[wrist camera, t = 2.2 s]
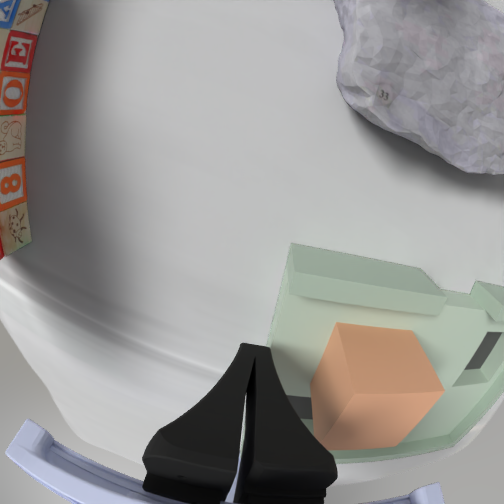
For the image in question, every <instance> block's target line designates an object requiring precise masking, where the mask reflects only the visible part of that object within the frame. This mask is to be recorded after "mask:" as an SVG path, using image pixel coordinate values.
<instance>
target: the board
mask: <svg viewBox="0 0 504 504" xmlns="http://www.w3.org/2000/svg"><path fill="white" fill-rule="evenodd" d="M336 322H340V323H348V324H356V325H364V326H373V327H382V328H392V329H403V330H412V331H413V333H414V335H415V336H416V338H417V340H418V341H419V343H420V345H421V347H422V348H423V350H424V352H425V354H426V356H427V357H428V359H429V361H430V363H431V365H432V366H433V368H434V370H435V372H436V374H437V376H438V378H439V380H440V382H441V384H442V386H443V388H444V390H445V392H444V393H443V394H442V395H441V397H440V398H439V399H438V401H437V402H436V403H435V404H434V405H433V407H432V408H431V409H430V410H429V411H428V413H427V414H426V415H425V416H424V417H423V418H422V419H421V421H420V422H419V423H418V424H417V425H416V426H415V427H414V428H413V429H412V430H411V431H410V433H409V434H408V435H407V436H406V437H405V438H404V439H403V440H402V441H401V442H400V443H399V444H398V445H397V446H395V447H386V448H375V449H361V450H328V451H329V452H330V453H331V454H332V455H333V456H334V459H335V463H336V464H344V463H361V462H373V461H382V460H390V459H397V458H403V457H409V456H415V455H420V454H425V453H429V452H434V451H438V450H442V449H446V448H450V447H453V446H454V445H455V444H456V443H457V442H458V441H459V440H461V439H462V438H463V437H464V436H465V435H466V434H467V433H468V432H469V431H470V430H471V429H472V428H473V427H474V426H475V424H476V423H477V422H478V421H479V420H480V419H481V418H482V417H483V416H484V415H485V414H486V412H487V411H488V410H489V409H490V408H491V407H492V406H493V404H494V403H495V402H496V401H497V399H498V398H499V397H500V396H501V395H502V393H503V392H504V287H502V286H497V285H493V284H489V283H484V282H480V281H476V282H475V284H474V286H473V289H472V291H471V293H470V294H465V293H459V292H453V291H448V290H442V289H439V287H438V286H437V285H436V284H435V283H434V282H433V281H432V280H431V279H430V278H429V277H428V276H427V275H426V274H425V273H424V272H423V271H422V270H421V269H420V268H415V267H410V266H405V265H400V264H395V263H391V262H386V261H381V260H376V259H371V258H366V257H361V256H356V255H351V254H346V253H340V252H335V251H330V250H325V249H320V248H315V247H309V246H304V245H299V244H293V243H291V246H290V250H289V255H288V259H287V264H286V268H285V272H284V277H283V281H282V285H281V289H280V293H279V297H278V302H277V306H276V310H275V314H274V318H273V322H272V326H271V330H270V334H269V338H268V341H267V345H266V347H269V348H270V349H271V353H272V358H273V362H274V365H275V368H276V371H277V374H278V377H279V379H280V382H281V384H282V387H283V389H284V391H285V393H286V395H287V397H288V399H289V401H290V403H291V405H292V406H293V408H294V410H295V411H296V413H297V414H298V416H299V417H300V419H301V420H302V422H303V423H304V424H305V426H306V427H307V428H308V429H309V431H310V432H311V433H312V434H313V436H314V429H313V415H312V402H311V390H310V383H311V380H312V378H313V376H314V374H315V372H316V369H317V367H318V365H319V363H320V360H321V358H322V356H323V353H324V351H325V348H326V346H327V344H328V341H329V339H330V336H331V334H332V331H333V329H334V326H335V323H336ZM244 434H245V424H244V430H243V437H242V444H241V451H240V458H241V455H242V448H243V442H244Z"/></svg>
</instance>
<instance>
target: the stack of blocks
mask: <svg viewBox="0 0 504 504" xmlns="http://www.w3.org/2000/svg"><path fill="white" fill-rule="evenodd" d="M49 1H50V0H0V260H1V259H2V258H3V257H5V256H8V255H10V254H11V253H13V252H15V251H16V250H18V249H20V248H22V247H23V246H25V245H27V244H28V243H30V242H32V238H31V232H30V225H29V217H28V209H27V191H26V174H25V135H26V107H27V95H28V87H29V80H30V71H31V66H32V61H33V56H34V51H35V47H36V43H37V36H38V35H39V32H40V29H41V25H42V22H43V18H44V15H45V12H46V9H47V6H48V3H49Z"/></svg>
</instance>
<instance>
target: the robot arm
mask: <svg viewBox="0 0 504 504" xmlns="http://www.w3.org/2000/svg"><path fill="white" fill-rule="evenodd" d="M246 392H247V393H246ZM245 396H246V416H245V434H244V442H243V448H242V455H241V458H240V452H239V451H240V440H241V430H242V421H243V412H244V404H245ZM5 454H6V455H7V456H8V457H9V458H10V459H11V460H12V461H13V462H14V463H16V464H17V465H18V466H19V467H20V468H21V469H22V470H24V471H25V472H26V473H27V474H28V475H29V476H31V477H32V478H33V479H35V480H36V481H38V482H39V483H41V484H42V485H44V486H45V487H47V488H48V489H50V490H51V491H53V492H54V493H56V494H58V495H59V496H61V497H62V498H64V499H66V500H68V501H69V502H71V503H73V504H324V497H326V488H327V487H328V486H330V485H331V484H332V483H333V482H334V481H335V480H336V479H337V478H338V474H337V467H336V463H335V459H334V456H333V455H332V454H331V453H330V452H329V451H328V450H327V449H326V448H325V447H324V446H323V445H322V444H321V443H320V442H319V441H318V440H317V439H316V438H315V437H314V436H313V434H312V433H311V432H310V431H309V429H308V428H307V427H306V426H305V424H304V423H303V422H302V420H301V419H300V417H299V416H298V414H297V413H296V411H295V410H294V408H293V406H292V405H291V403H290V401H289V399H288V397H287V395H286V393H285V391H284V389H283V387H282V384H281V382H280V379H279V377H278V374H277V371H276V368H275V365H274V362H273V358H272V353H271V349H270V348H269V347H266V346H259V345H254V344H248V343H242V344H240V347H239V350H238V352H237V354H236V356H235V358H234V360H233V362H232V363H231V365H230V366H229V368H228V369H227V371H226V372H225V374H224V375H223V376H222V377H221V379H220V380H219V381H218V382H217V384H216V385H215V386H214V387H213V388H212V389H211V390H210V392H209V393H208V394H207V395H206V396H205V397H204V398H202V399H201V400H200V401H199V402H198V403H197V404H196V405H195V406H194V407H192V408H191V409H190V410H188V411H187V412H186V413H184V414H183V415H182V416H180V417H179V418H177V419H176V420H174V421H173V422H171V423H169V424H168V425H166V426H164V427H163V428H161V429H159V430H158V431H157V433H156V434H155V435H154V436H153V438H152V439H151V440H150V442H149V444H148V445H147V447H146V450H145V452H144V455H143V457H142V460H143V463H144V465H145V468H146V470H147V474H146V477H145V480H144V481H141V480H138V479H135V478H132V477H130V476H127V475H125V474H122V473H120V472H117V471H115V470H112V469H110V468H108V467H105V466H103V465H101V464H99V463H97V462H94V461H92V460H90V459H88V458H86V457H84V456H82V455H80V454H78V453H76V452H74V451H73V450H71V449H69V448H67V447H66V446H64V445H62V444H60V443H59V442H57V441H55V440H54V438H53V437H52V435H51V434H50V433H49V432H48V431H47V430H45V429H44V428H42V427H41V426H39V425H38V424H36V423H35V422H33V421H32V420H30V419H27V420H26V421H25V423H24V424H23V426H22V427H21V428H20V430H19V431H18V433H17V434H16V436H15V438H14V439H13V441H12V442H11V444H10V445H9V447H8V448H7V450H6V452H5ZM361 504H445V502H444V498H443V494H442V490H441V486H440V483H439V482H436V483H433V484H429V485H426V486H423V487H420V488H418V489H416V490H414V491H412V492H411V493H410V494H408V495H404V496H399V497H395V498H390V499H385V500H379V501H373V502H367V503H361Z"/></svg>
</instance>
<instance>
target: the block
mask: <svg viewBox="0 0 504 504" xmlns="http://www.w3.org/2000/svg"><path fill="white" fill-rule="evenodd" d="M310 390H311V402H312V415H313V429H314V437H315V438H316V439H317V440H318V441H319V442H320V443H321V444H322V445H323V446H324V447H325V448H326V449H327V450H361V449H375V448H386V447H395V446H397V445H398V444H399V443H400V442H401V441H402V440H403V439H404V438H405V437H406V436H407V435H408V434H409V433H410V431H411V430H412V429H413V428H414V427H415V426H416V425H417V424H418V423H419V422H420V421H421V419H422V418H423V417H424V416H425V415H426V414H427V413H428V411H429V410H430V409H431V408H432V407H433V405H434V404H435V403H436V402H437V401H438V399H439V398H440V397H441V395H442V394H443V393H444V392H445V390H444V388H443V386H442V384H441V382H440V380H439V378H438V376H437V374H436V372H435V370H434V368H433V366H432V365H431V363H430V361H429V359H428V357H427V356H426V354H425V352H424V350H423V348H422V347H421V345H420V343H419V341H418V340H417V338H416V336H415V335H414V333H413V331H412V330H403V329H392V328H382V327H373V326H364V325H356V324H348V323H340V322H336V323H335V326H334V329H333V331H332V334H331V336H330V339H329V341H328V344H327V346H326V348H325V351H324V353H323V356H322V358H321V360H320V363H319V365H318V367H317V369H316V372H315V374H314V376H313V378H312V380H311V383H310Z"/></svg>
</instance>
